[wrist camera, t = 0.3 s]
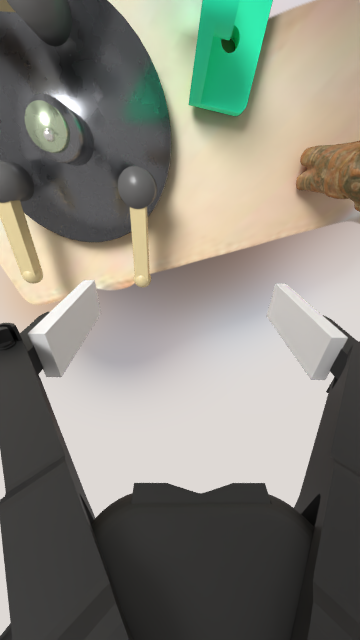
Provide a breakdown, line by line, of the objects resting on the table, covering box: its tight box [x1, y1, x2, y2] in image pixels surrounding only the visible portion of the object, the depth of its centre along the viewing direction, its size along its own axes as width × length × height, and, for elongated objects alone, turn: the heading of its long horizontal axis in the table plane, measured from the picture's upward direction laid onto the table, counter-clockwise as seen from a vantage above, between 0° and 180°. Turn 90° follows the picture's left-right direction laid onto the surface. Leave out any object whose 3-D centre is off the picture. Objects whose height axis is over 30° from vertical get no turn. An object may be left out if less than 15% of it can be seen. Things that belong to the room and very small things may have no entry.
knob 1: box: [0, 160, 43, 283], centre depth 34 cm, size 18×5×5 cm, turn 178°
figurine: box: [296, 141, 360, 211], centre depth 28 cm, size 8×8×15 cm
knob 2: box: [118, 166, 157, 287], centre depth 34 cm, size 18×5×5 cm, turn 178°
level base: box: [0, 0, 171, 242], centre depth 28 cm, size 28×28×10 cm
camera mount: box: [189, 0, 273, 116], centre depth 23 cm, size 12×8×10 cm, turn 170°
